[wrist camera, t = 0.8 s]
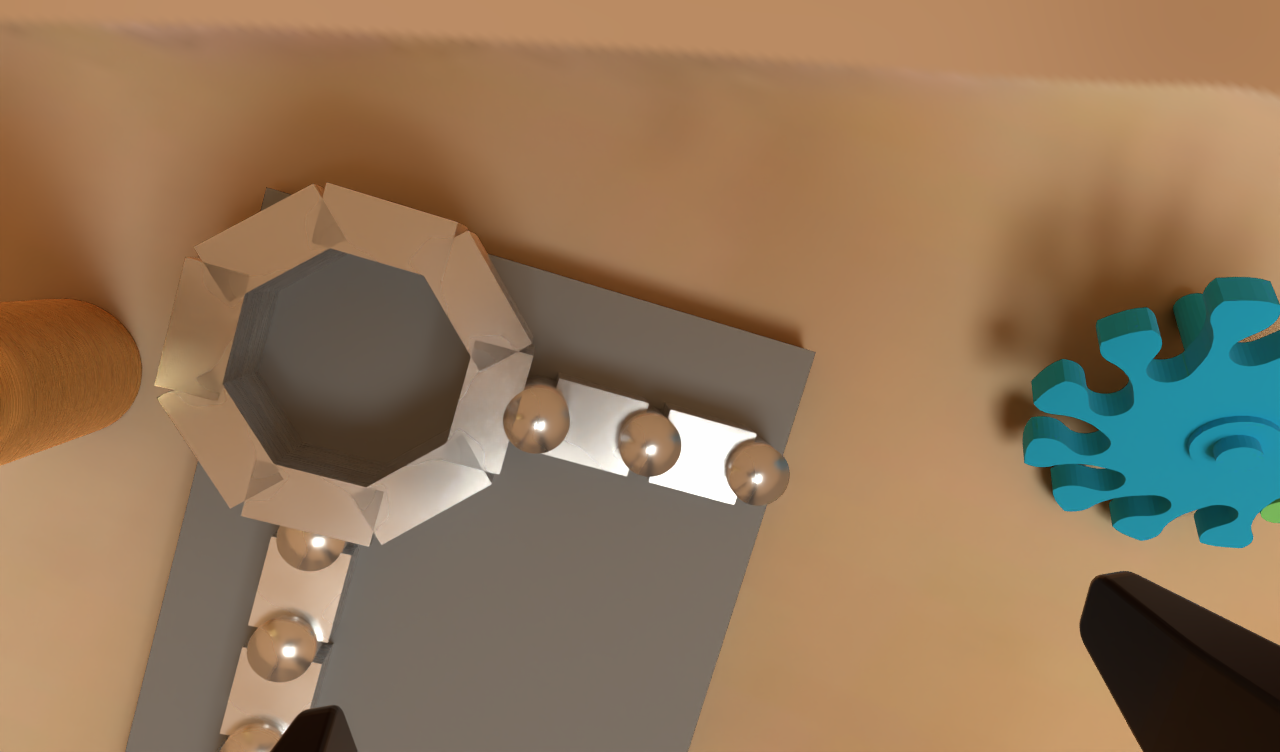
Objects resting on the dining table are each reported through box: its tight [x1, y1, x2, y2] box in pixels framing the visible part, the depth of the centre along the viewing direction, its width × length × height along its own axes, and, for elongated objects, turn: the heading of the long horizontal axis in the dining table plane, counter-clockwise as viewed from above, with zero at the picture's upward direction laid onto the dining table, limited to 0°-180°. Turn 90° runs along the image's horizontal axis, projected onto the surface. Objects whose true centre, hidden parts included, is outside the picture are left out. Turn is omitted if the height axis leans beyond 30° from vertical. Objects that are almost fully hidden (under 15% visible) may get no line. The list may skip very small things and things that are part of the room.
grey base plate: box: [125, 187, 816, 752], centre depth 23 cm, size 17×15×1 cm
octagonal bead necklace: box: [154, 182, 790, 752], centre depth 21 cm, size 17×15×2 cm
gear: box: [1023, 277, 1280, 548], centre depth 23 cm, size 11×6×10 cm
